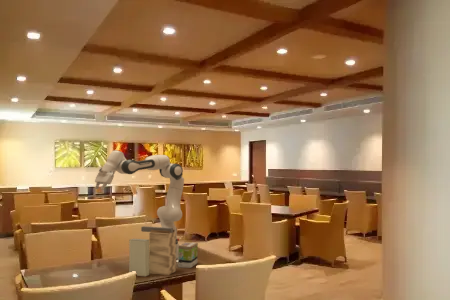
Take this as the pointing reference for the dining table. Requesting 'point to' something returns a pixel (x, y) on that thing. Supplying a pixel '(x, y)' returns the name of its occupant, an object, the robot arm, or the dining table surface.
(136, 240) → the block
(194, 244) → the tea box
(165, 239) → the stand
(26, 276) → the dining table surface
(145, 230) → the bar
